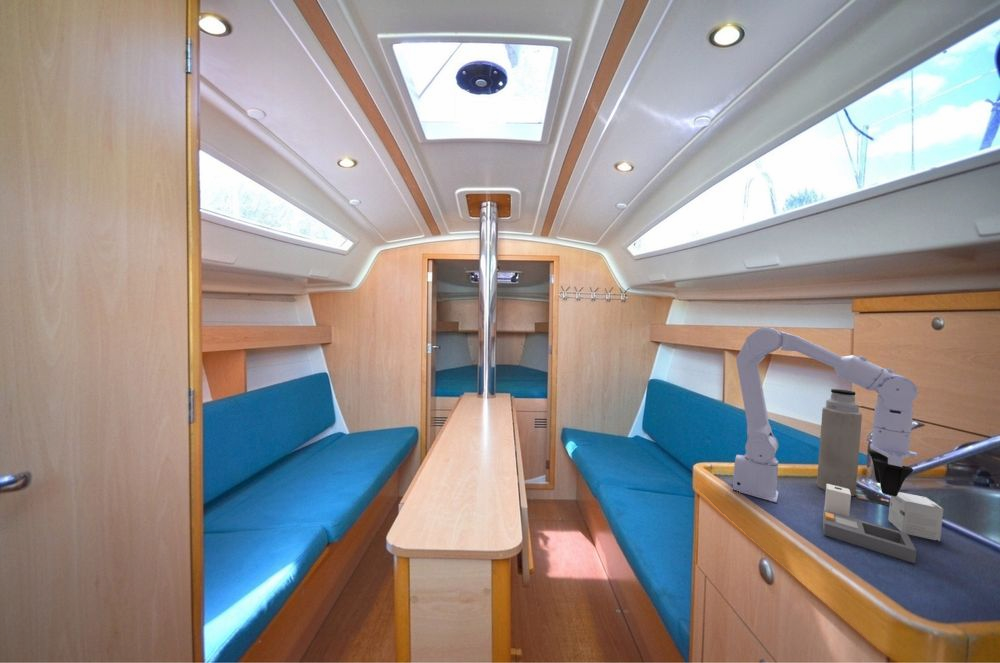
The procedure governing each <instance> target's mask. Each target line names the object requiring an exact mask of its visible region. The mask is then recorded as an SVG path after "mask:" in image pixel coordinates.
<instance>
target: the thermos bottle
mask: <svg viewBox="0 0 1000 663" xmlns="http://www.w3.org/2000/svg"><path fill="white" fill-rule="evenodd" d="M830 392H831V394H830V398H828V399H826V401H825V406H823V407H822V412H821V424H820V438H819V439H820V440H819V451H818V462H817V463H818V466H817V476H816V478H817V479H816V486H818V488H820V489H822V490H824V491H826V483H827V484H831V485H835V486H839V487H843V488H847V489H849V490H850V493H851V497H855V494H856V489H857V483H858V482H857V481H858V471H859V457H860V456H859V455H860V454H859V453H860V446H861V444H860V443H861V432H862V419H863V417H862V416H863V414H862V412H860V404H859V403H857V402H856V397H855V396H856V392H855V391H852V390H847V389H838V388H831V389H830Z"/></svg>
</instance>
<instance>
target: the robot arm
mask: <svg viewBox="0 0 1000 663" xmlns="http://www.w3.org/2000/svg"><path fill="white" fill-rule="evenodd" d="M779 349H780V351H785V352H786V351H787V352H797V353H800V354H801V355H804V356H807V357H808V358H811V359H813V360H815V361H818V362H821V363H822V364H824V365H828V366H829V367H831V368H833V370H834V372H835V375H836V376H837V377H840V378H841V379H844V380H845V381H847V382H850V383H852V384H855V385H857V386H859V387H861V388H863V389H865V390H868V391H875V392H876V393H877V394H878V395H877V396H876V398H877V399H876V405H875V406H874V414H873V415H874V416H873V423H872V435H871V443H870V444H869V449H867V452H868V454H869V455H870V457H871V460H872V461H871V462H872V465H873V470H874V477H875V481H876V483H877V484H878V483H879V484H880V485H879V486H880V491H881V494H884V495H889V496H895V497H896V496H897V495H898V493H899V492H901V491H900V490H901V488H902V485H903V483H904V481H905V480H906V479H907V478H908V477H909V475H910V474H912V473H913V471H914V469H913V467H912V466H906V465H904V460H905V459H907V458H909V457H912V458H913V457H914V458H918V453H917V452H915V451H911V450H910V448H911V439H912V437H911V435H912V427H913V426H912V425H913V417H914V411H913V407H914V400H915V399H916V398H918V396H919V391H918V389H917V388H918V387H917V386H916V384H915V383H914V382H913V381H912V380H911V379H909V378H907V377H905V376H903V375H902V374H898V373H894V372H895V370H894V369H891V368H889V367H888V368H884V367H881V366H879V365H877V364H875V363H873V362H870V361H868V357H865V356H863V355H859V356H856V355H854V354H851V355H844V356H841V355H839V354H838V353H834V352H833V351H830V350H829V349H826V348H824V347H822V346H820V345H818V344H815V343H813V342H811V341H809V340H807V339H805V338H802V337H801V336H798V335H795V334H792V333H788V332H785V331H780V330H778V329H776V328H772V327H760V328H757V329H755V330H754V331H752V333H750V334H749V335H748V336H747V337H746V338H745V341H744V343H743V345H742V347H741V349H740V351H739V352H738V354H737V356H736V359H735V360H736V361H735V362H736V366H737V371H738V376H739V377H738V378H739V384H740V390H741V396H742V401H743V407H744V412H745V419H746V424H747V426H746V435H747V440H746V443H745V446H744V448H745V453H744V455H743V454H736V456H735V458H734V464H733V465H734V467H733V475H732V482H733V483H732V489H733V488H734V489H735V490H737V491H736V492H738V491H739V492H738V493H742V494H746V495H748V496H752V497H756V498H758V499H763V500H764V501H765V500H766V501H768V502H772V503H778V498H779V491H778V490H777V485H778V482H777V481H778V473H779V472H778V471H779V460H778V459H777V458H776V452H778V450H779V447H780V446H779V442H778V439H777V437H775V435H774V433H773V431H772V427H771V425H770V422H769V416H768V410H767V405H766V401H765V395H764V389H763V388H764V387H763V384H762V379H761V378H762V376H761V373H760V367H759V364H760V363H761V362H762V361H763V360H764V359H765V358H766V357H767V356H768V355H769V354H771V353H774V352H775V351H778V350H779Z"/></svg>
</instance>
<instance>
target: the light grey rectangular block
mask: <svg viewBox="0 0 1000 663" xmlns="http://www.w3.org/2000/svg"><path fill="white" fill-rule="evenodd" d="M824 496H825V497H824V498H825V499H824V509H823V510H826V511H830V512H833V513H837V514H840V515H844V516H847V517H850V515H851V514H850V512H851V501H852V500H851V498H852V496H851V493H850V490H849V489H847V488H843V487H839V486H835V485H831V484H827V483H826V490H825V495H824Z"/></svg>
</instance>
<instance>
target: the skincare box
mask: <svg viewBox="0 0 1000 663" xmlns="http://www.w3.org/2000/svg"><path fill="white" fill-rule="evenodd" d="M890 496H891V495H890ZM943 519H944V508H943V507H942V506H940V505H939V504H938V503H937V502H935V501H932V499H929V498H928V497H927V496H923V495H921V496H920V495H916V494H911V493H906V492H901V491H899V493H898V495H897V496H896V497H895V496H891V498H890V507H889V509H888V521H889V522H890V523H891V524H892V525H893V526H894V527H895V528H896V529H898V531H901V532H904V533H907V534H908V536H909V535H910V536H912V537H913V536H914V537H920V538H923V539H929V540H933V541H936V540H938V541H937V542H941V535H942V525H943Z"/></svg>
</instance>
